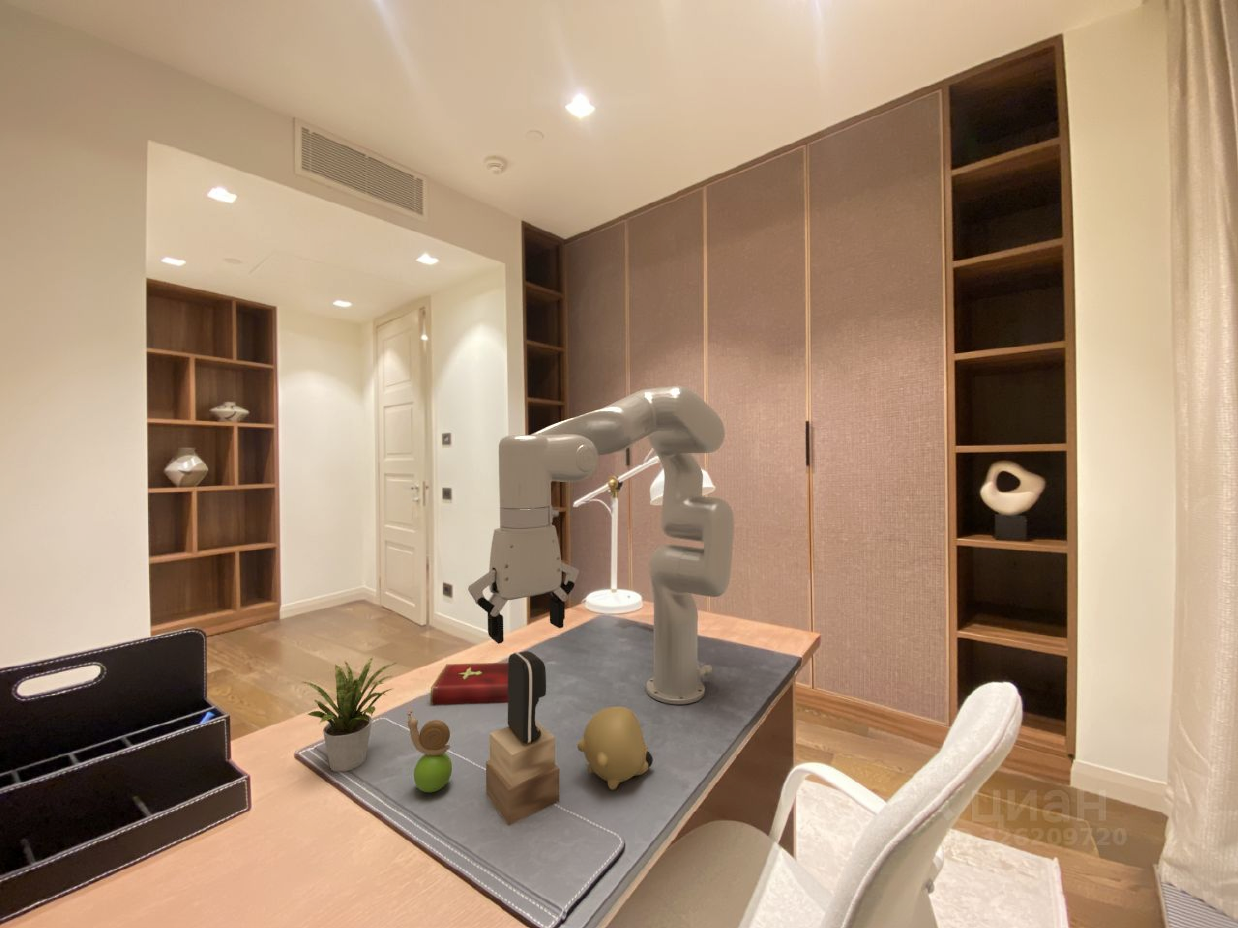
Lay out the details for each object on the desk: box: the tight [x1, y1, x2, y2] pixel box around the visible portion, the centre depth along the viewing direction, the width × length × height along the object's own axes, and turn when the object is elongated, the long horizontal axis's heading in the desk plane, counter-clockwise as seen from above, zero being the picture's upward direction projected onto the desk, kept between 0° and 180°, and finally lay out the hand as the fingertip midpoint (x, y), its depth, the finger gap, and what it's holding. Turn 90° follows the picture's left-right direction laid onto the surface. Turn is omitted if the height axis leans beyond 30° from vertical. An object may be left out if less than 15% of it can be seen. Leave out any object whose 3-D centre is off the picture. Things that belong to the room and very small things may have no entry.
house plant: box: [299, 657, 397, 772], centre depth 81 cm, size 14×14×16 cm
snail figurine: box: [407, 709, 453, 793], centre depth 75 cm, size 5×6×12 cm
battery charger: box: [507, 650, 547, 743], centre depth 74 cm, size 7×4×11 cm, turn 34°
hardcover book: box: [430, 662, 508, 706], centre depth 107 cm, size 12×21×4 cm, turn 95°
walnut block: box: [485, 759, 561, 826], centre depth 73 cm, size 8×8×5 cm
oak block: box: [489, 720, 556, 787], centre depth 73 cm, size 7×7×4 cm
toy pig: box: [576, 706, 654, 790], centre depth 78 cm, size 10×12×11 cm
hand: (527, 632), depth 73 cm, fingers open, 9 cm apart
